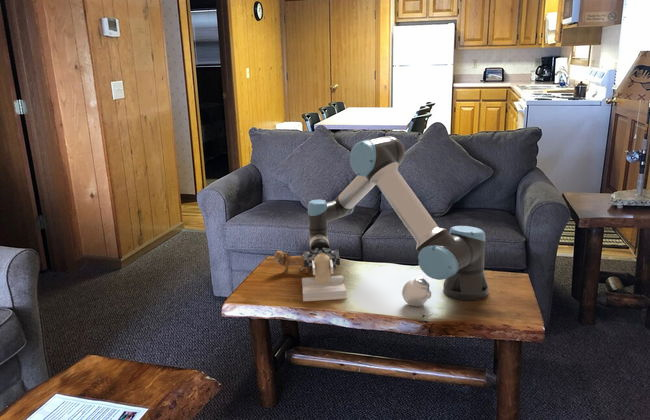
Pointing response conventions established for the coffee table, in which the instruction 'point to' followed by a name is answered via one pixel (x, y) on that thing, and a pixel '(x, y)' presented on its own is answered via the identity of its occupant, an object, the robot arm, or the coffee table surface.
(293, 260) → the lion figurine
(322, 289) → the tray
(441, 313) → the coffee table surface
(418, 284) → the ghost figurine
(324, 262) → the candle
